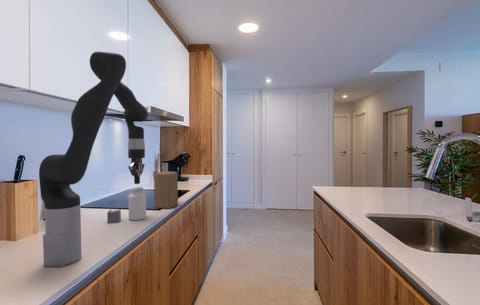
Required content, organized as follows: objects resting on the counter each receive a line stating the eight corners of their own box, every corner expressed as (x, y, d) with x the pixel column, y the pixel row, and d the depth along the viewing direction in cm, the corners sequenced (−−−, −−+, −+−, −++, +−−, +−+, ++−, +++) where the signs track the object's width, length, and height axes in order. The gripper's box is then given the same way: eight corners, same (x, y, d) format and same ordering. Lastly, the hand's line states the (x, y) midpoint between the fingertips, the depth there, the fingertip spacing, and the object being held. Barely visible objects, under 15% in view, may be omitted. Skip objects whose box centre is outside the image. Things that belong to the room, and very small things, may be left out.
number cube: (119, 222, 122) (119, 211, 121) (107, 223, 120) (107, 212, 120) (120, 219, 126) (120, 208, 126) (109, 220, 125) (109, 209, 125)
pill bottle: (131, 221, 122) (131, 189, 122) (126, 218, 128) (126, 187, 128) (148, 218, 127) (148, 188, 127) (143, 215, 133) (142, 186, 133)
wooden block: (153, 208, 148) (153, 173, 147) (163, 204, 158) (163, 171, 157) (169, 209, 145) (168, 173, 145) (178, 205, 155) (178, 171, 154)
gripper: (138, 148, 120) (138, 186, 120) (149, 148, 133) (150, 181, 134) (122, 148, 120) (123, 186, 121) (135, 148, 133) (135, 181, 134)
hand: (137, 183), depth 127 cm, fingers closed
